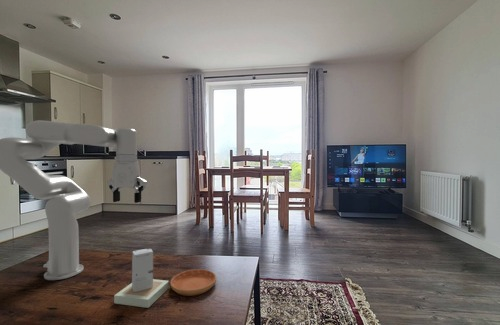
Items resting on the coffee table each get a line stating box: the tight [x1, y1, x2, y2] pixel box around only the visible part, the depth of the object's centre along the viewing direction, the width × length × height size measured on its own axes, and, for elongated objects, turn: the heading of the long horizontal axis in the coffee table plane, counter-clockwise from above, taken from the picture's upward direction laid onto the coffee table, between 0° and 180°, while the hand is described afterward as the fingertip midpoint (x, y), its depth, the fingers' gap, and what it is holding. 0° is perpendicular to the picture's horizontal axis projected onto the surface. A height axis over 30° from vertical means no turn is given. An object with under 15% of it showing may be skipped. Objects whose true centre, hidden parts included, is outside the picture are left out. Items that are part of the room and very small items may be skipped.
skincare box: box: [131, 248, 154, 292], centre depth 82 cm, size 6×4×12 cm
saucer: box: [169, 268, 217, 297], centre depth 88 cm, size 16×16×3 cm
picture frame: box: [113, 278, 170, 309], centre depth 82 cm, size 12×12×3 cm
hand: (127, 201), depth 99 cm, fingers open, 9 cm apart
